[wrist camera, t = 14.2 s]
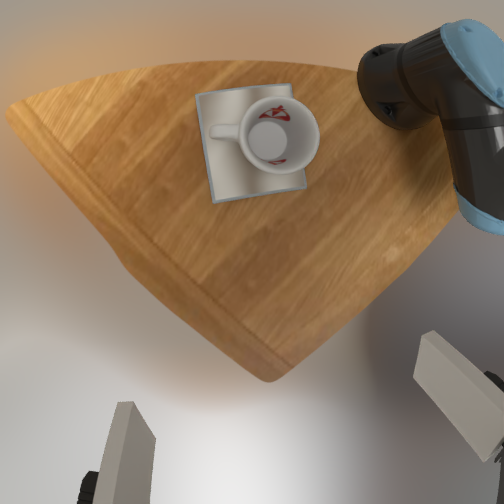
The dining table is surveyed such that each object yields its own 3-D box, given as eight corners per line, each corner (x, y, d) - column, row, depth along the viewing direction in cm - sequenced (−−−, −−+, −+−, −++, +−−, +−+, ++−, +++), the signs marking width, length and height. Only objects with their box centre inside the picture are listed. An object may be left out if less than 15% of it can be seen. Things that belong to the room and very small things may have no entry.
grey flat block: (282, 91, 36) (291, 82, 31) (296, 186, 40) (308, 188, 36) (196, 102, 35) (194, 93, 30) (212, 199, 39) (212, 204, 35)
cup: (206, 169, 33) (205, 169, 26) (212, 105, 31) (212, 87, 24) (294, 176, 35) (317, 179, 27) (300, 114, 33) (323, 102, 25)
